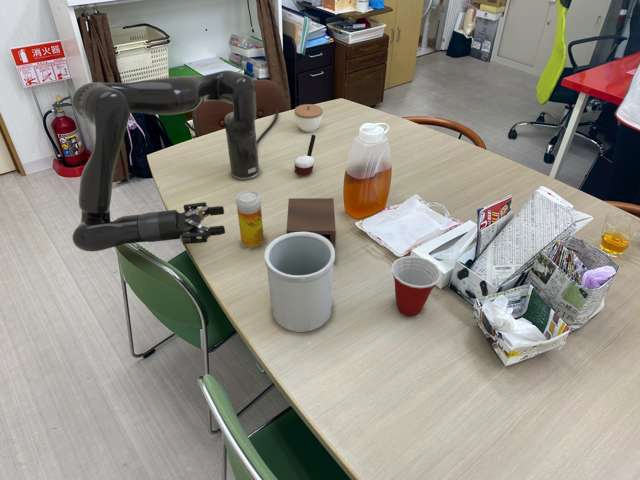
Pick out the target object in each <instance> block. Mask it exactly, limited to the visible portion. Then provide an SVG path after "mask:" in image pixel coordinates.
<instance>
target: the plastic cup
mask: <svg viewBox="0 0 640 480" xmlns="http://www.w3.org/2000/svg"><path fill="white" fill-rule="evenodd" d="M391 274H392V277H393V282H394V293H395V302H396V303H395V305H396V309H397V311H398V312H399V313H400V314H401V315H404V316H406V317H415V316H416V317H417V315H419V314H420V313H421V312H422V310H423V308H424V306H425V304H426V303H427V301H428V299H429V297H430V294H431V292H432V291H433V288H434V287H435V286H436V285H437V284H438V283H439V281H440V279H441V277H442V272H441V270H440V268H439V267H438V265H437V264H436V263H434V262H433V261H431V260H430V259H428V258H424V257H422V256H415V255H407V256H401V257H399V258H397V259H395V260H394V261H393V263H392V264H391Z"/></svg>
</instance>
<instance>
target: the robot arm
mask: <svg viewBox="0 0 640 480" xmlns="http://www.w3.org/2000/svg"><path fill="white" fill-rule="evenodd" d="M206 102H224V103H226V104H230V105H232V111H231V112H229V113H227V114H226V115H225V117H224V128H225V136H226V142H227V150H228V158H229V165H230V175H231V177H232V178H233V179H235V180H240V181H248V180H252V179H255V178H257V177H258V176H259V175H260V172H261V171H260V165H259V153H258V144H259V142H260V141H261V139H262V138H263V137H264V136H265V135H266V134H267V133H268V132H269V131H270V129H271V128H272V127H273V126H274V124H275V123H276V121H277V119H278V117H279V111H280V108H279V107H276V109H275V110H276V111H275V116H274V118H273V120H272V122H271V123H270V124H269V126H267V128H266V129H265V130H264V131H263V133H262V134H261V135H260V136H259V137H258V138H257V131H256V117H257V89H256V85H255V81H254V80H253V78H252V77H251V76H249V75H247V74H244V73H241V72H237V71H235V70H230V69H229V70H222V71H216V72H213V73H208V74H204V75H183V76H182V75H181V76H169V77H161V78H153V79H146V80H140V81H132V82H95V81H94V82H93V81H92V82H88V83H84V84H82V85H81V86H79V88H77V89H76V90H75V91H74V93H73V95H72V99H71V105H72V108H73V110H74V111H75V113H76V114H77V115H78V117H80V118H81V119H82V120H84V121H85V122H87V123H89V124H92V125H94V131H95V141H94V146H93V150H92V152H91V155H90V156H89V158H88V160H87V162H86V163H85V165H84V168H83V170H82V171H81V175H80V180H79V189H78V206H79V209H80V210H81V218H80V219H81V220H80V222H79V224H78V225H77V227H76V228H75V229H74V231H73V233H72V242H73V244H74V246H76V248H78V249H79V250H81V251H85V252H99V251H104V250H108V249H112V248H116V247H119V246H122V245H125V244H126V245H127V244H136V243H154V242H155V243H156V242H165V241H174V240H180V239H181V240H182V244H183V245H191V244H193V245H194V244H204V243H207V242H208V239H209V238H210V237H212V236H213V237H214V236H222V235H224V234H226V229H225V228H226V227H225V225H213V226H209V227H207V226H205V225H203V224H202V221H204V220H205V218H207V217H209V216H220V215H224V214H225V209H224V206H223V205H217V206H208V205H207V202H206V201H203V202H195V203H187V204H183V212H178V211H177V209H170V210H161V211H160V210H159V211H151V212H146V213H140V214H132V215H131V214H130V215H124V216H120V217H117V218H116V219H114V220H112V221H111V210H110V208H111V207H110V206H111V202H112V192H113V183H114V176H115V170H116V166H117V162H118V158H119V155H120V152H121V148H122V144H123V140H124V137H125V134H126V130H127V128H128V123H129V120H130V114H145V115H156V116H172V115H173V116H174V115H181V114H185V113H186V114H187V113H189V112H192V111H194V110H196V109H197V108H199V107H200V105H201V104H203V103H206Z"/></svg>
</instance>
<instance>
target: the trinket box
mask: <svg viewBox="0 0 640 480" xmlns="http://www.w3.org/2000/svg"><path fill="white" fill-rule="evenodd" d="M323 111H324V110H323V108H322V106H320V105H317V104H311V103H307V104H305V103H304V104H300V105H298V106H296V107H295V108H294V111H293V112H294V121H295V124H296V125H297V127H298V128H299V129H300V130H301V131H302V132H303V133H305V132H306V133H312V132H316V131H317V129H319V127H321V124H322V121H323V113H324V112H323Z"/></svg>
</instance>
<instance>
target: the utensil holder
mask: <svg viewBox="0 0 640 480" xmlns="http://www.w3.org/2000/svg"><path fill="white" fill-rule="evenodd" d="M263 258H264V263H265V267H266V271H267V279H268V281H267V282H268V289H269V290H268V291H269V296H270V305H271V309H272V314H273V317H274V319H275V321H276V322H277V324H279V326H281V327H282V328H284V329H286V330H289V331H291V332H295V333H296V332H297V333H305V332H312V331H314V330H317V329H319V328H321V327H322V326H323V325H325V324H326V323H327V321H328V320H329V319H330V317H331V314H332V309H333V308H332V306H333V296H334V295H333V292H334V291H333V290H334V288H333V286H334V266H335V259H336V249H335V250H334V247H333V245H332V244H331V242H330V241H329V240H327V239H326V238H325V237H323V236H321V235H319V234H315V233H311V232H293V233H289V234H287V233H285V234H282V235H280V236H278V237H276V238H275V239H273V240H272V241H271V242H270V243H269V244H268V245H267V246H266V248H265V250H264V255H263Z"/></svg>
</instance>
